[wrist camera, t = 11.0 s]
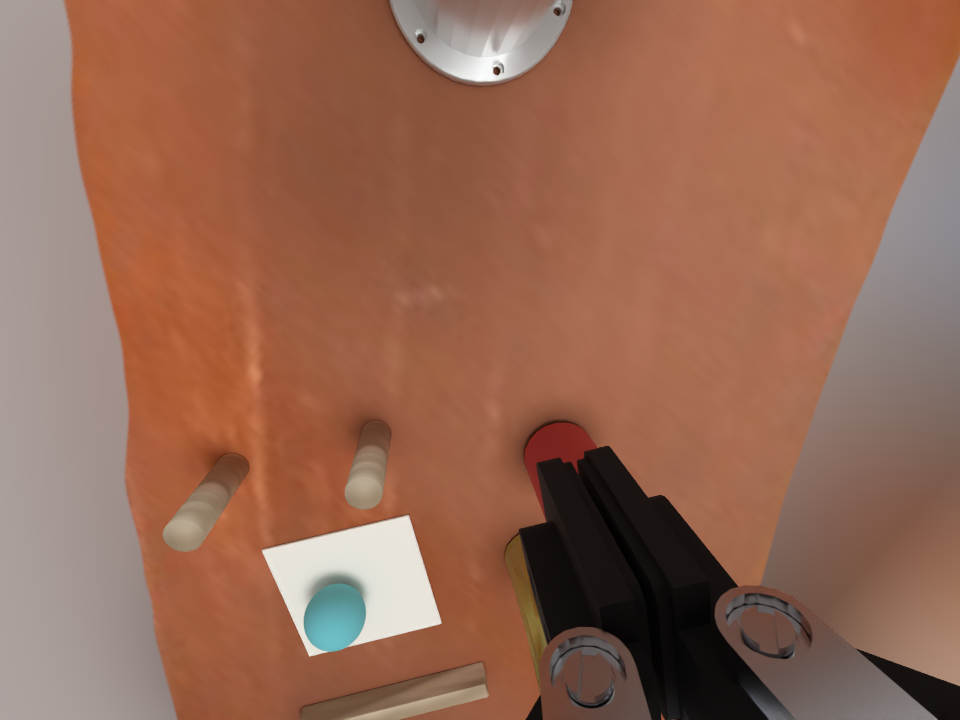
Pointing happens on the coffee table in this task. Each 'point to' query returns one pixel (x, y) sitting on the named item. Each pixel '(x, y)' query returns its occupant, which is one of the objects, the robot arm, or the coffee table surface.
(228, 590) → the coffee table surface
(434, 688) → the rail
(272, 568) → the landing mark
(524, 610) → the vase
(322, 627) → the ball
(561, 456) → the beer can
